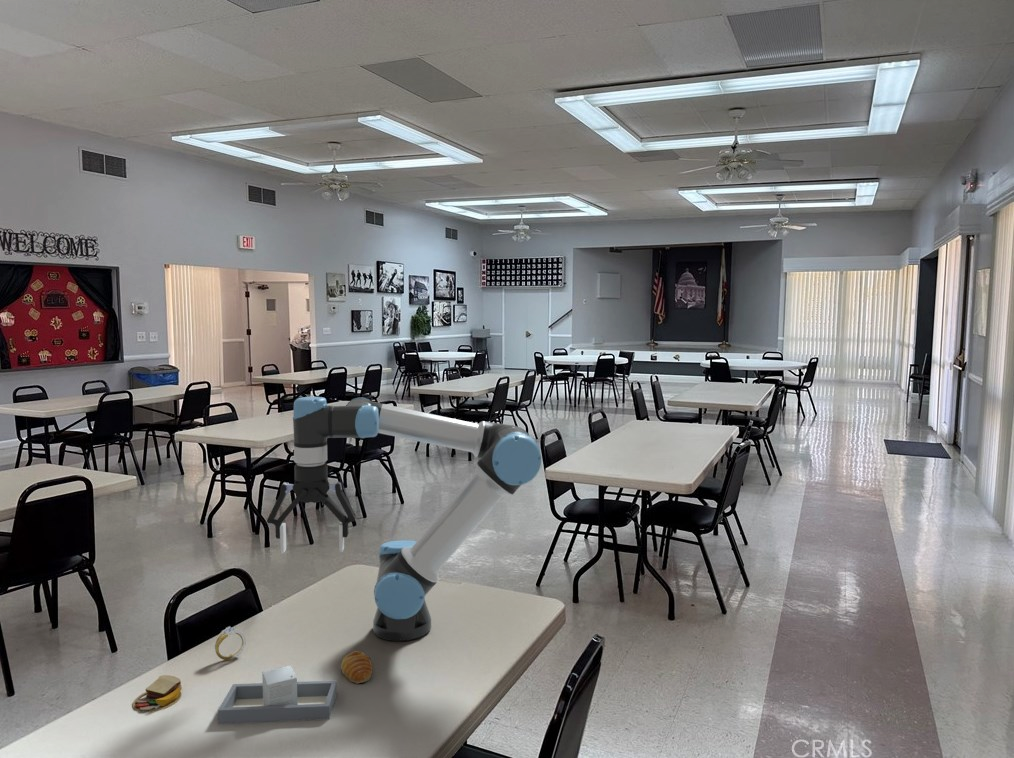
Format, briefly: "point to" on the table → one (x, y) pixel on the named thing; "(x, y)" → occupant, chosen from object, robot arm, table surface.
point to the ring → (227, 632)
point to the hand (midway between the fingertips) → (312, 551)
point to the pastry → (357, 667)
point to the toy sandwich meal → (159, 694)
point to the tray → (249, 706)
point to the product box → (279, 687)
